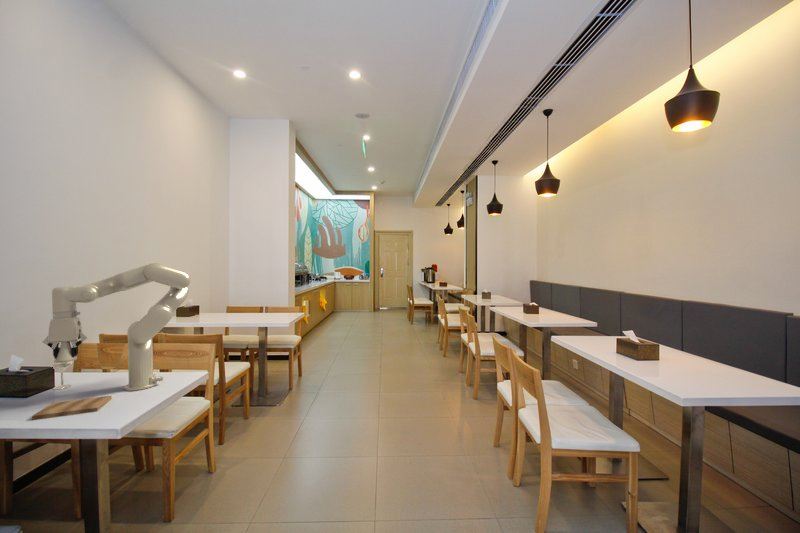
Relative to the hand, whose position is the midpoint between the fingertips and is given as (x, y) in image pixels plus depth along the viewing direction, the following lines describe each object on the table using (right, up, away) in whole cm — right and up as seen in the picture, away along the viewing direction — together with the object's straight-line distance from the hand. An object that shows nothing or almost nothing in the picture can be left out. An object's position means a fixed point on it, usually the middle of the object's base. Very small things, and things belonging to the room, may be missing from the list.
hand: (65, 356), depth 152 cm
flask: (0, -2, 0) cm, 2 cm away
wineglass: (-18, -20, +17) cm, 32 cm away
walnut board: (+12, -19, -9) cm, 24 cm away
